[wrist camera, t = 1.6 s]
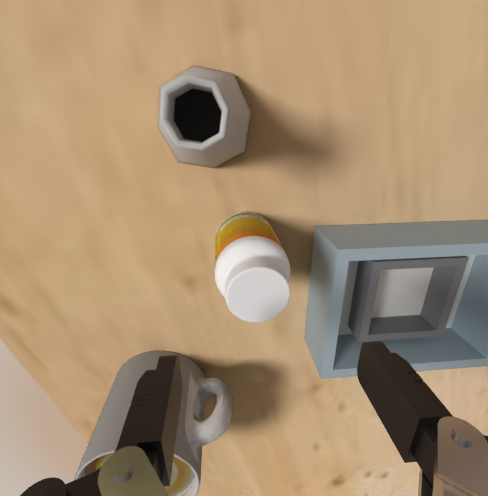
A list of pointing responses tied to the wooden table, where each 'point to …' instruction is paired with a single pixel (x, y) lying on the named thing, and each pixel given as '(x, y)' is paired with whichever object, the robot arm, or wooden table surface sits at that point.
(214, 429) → the coffee mug
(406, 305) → the walled box
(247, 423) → the wooden table surface
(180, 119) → the flask
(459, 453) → the robot arm
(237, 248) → the supplement bottle
